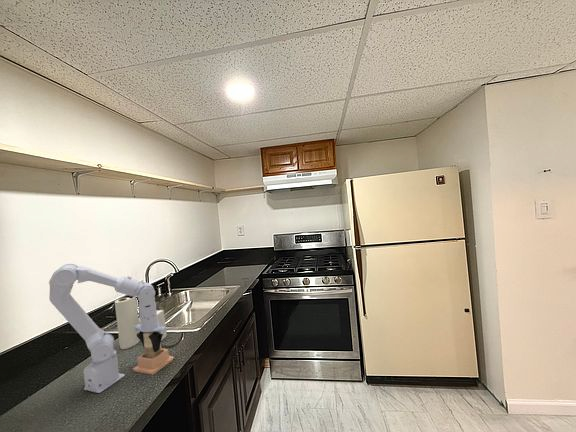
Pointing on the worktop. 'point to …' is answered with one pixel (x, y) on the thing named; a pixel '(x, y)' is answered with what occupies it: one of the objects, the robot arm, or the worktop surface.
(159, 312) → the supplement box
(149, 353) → the birch peg
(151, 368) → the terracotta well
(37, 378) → the worktop surface
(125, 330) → the paper towel roll
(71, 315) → the robot arm
